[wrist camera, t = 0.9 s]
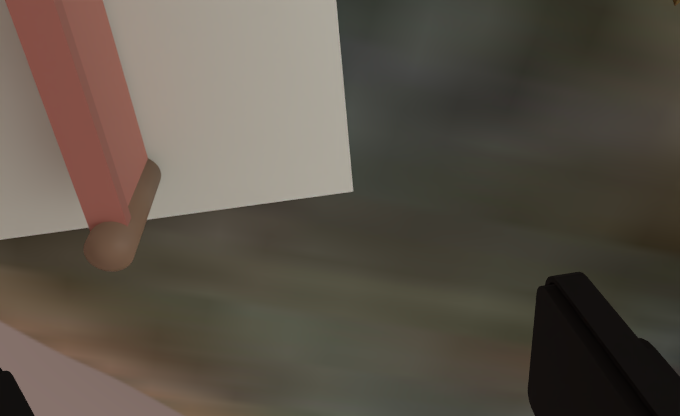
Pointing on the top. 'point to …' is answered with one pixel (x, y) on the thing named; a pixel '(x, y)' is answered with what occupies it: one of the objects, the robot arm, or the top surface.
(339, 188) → the card
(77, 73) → the fence panel
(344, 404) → the top surface
